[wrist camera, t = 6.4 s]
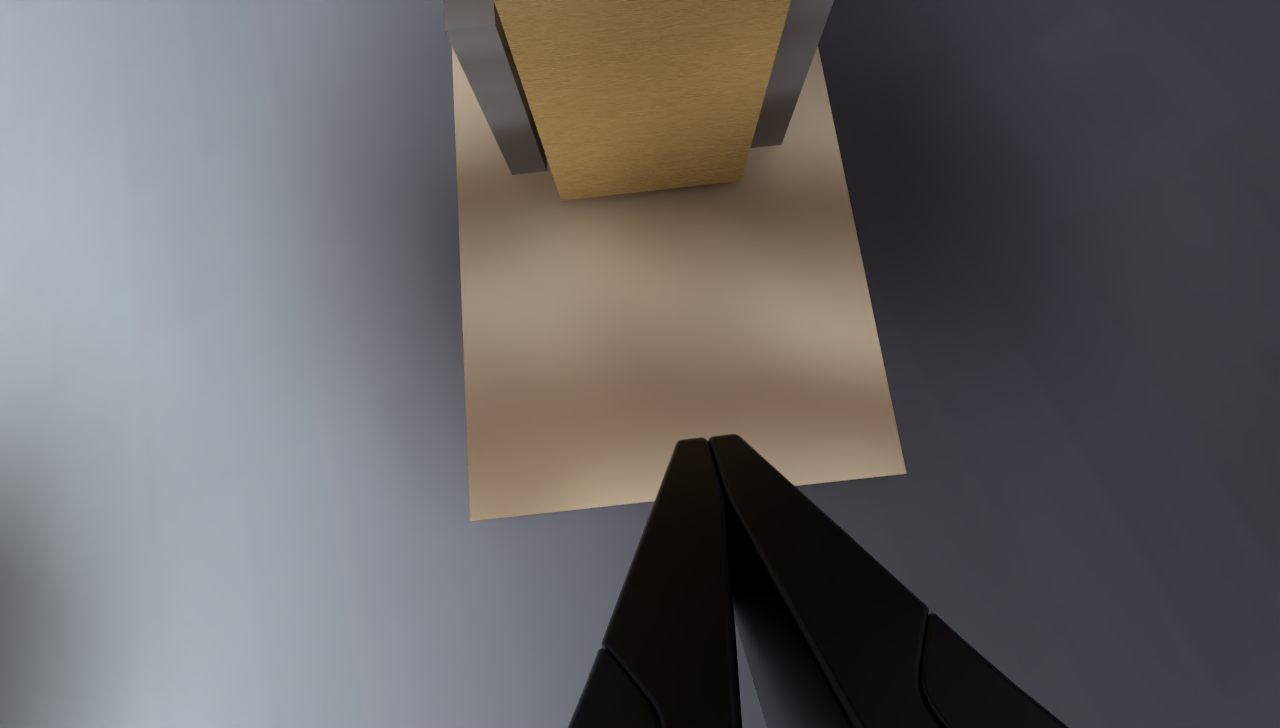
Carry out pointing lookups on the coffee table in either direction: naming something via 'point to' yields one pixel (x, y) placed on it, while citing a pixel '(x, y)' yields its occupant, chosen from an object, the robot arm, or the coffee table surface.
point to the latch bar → (643, 87)
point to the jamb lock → (658, 300)
